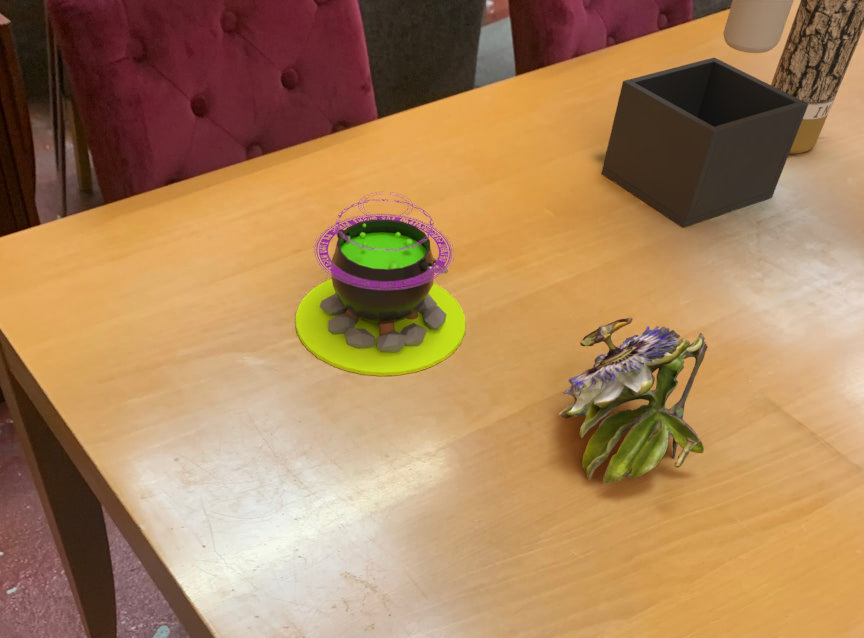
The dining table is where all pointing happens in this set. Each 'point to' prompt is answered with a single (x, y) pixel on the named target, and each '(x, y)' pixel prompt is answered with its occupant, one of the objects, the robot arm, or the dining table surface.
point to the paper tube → (818, 60)
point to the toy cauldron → (381, 299)
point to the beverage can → (756, 24)
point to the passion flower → (631, 380)
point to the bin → (701, 139)
